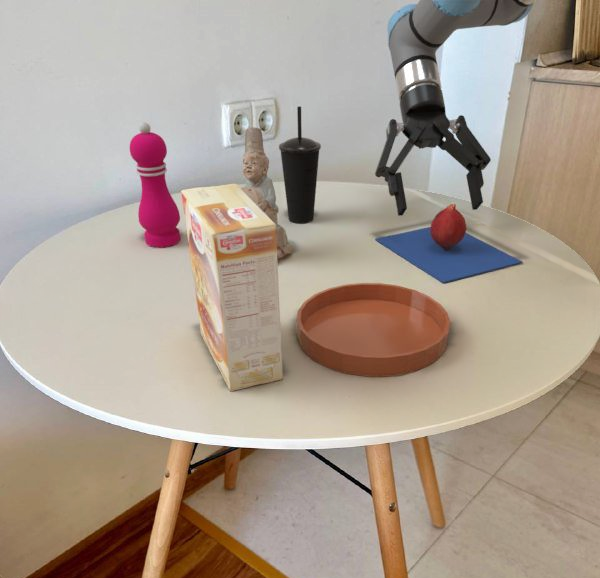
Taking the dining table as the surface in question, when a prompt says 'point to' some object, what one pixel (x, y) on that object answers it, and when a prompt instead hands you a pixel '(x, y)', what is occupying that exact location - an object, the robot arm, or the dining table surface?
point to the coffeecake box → (235, 283)
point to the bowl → (372, 329)
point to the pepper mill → (154, 189)
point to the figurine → (262, 185)
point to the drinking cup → (300, 175)
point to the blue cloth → (447, 255)
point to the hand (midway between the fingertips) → (440, 209)
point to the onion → (448, 227)
